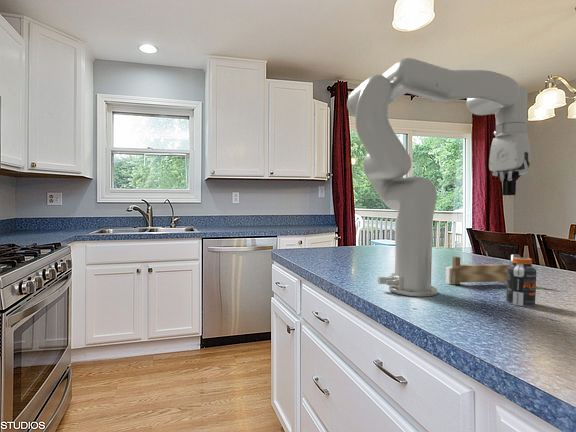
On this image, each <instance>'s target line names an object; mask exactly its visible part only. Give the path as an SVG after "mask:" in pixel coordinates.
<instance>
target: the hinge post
mask: <svg viewBox="0 0 576 432" xmlns="http://www.w3.org/2000/svg"><path fill="white" fill-rule="evenodd" d="M513 257H521V255H520V254H516V253H515V254H514V253H513V254H510V263H509V265H512V264H513V263H512V258H513ZM500 283H501V284H504V285H507V282H500Z"/></svg>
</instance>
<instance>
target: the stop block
mask: <svg viewBox="0 0 576 432" xmlns="http://www.w3.org/2000/svg"><path fill="white" fill-rule="evenodd" d="M444 283H445V284H448V285H454V284H453V283H452V266H445V282H444Z"/></svg>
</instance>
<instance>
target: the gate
mask: <svg viewBox="0 0 576 432" xmlns="http://www.w3.org/2000/svg"><path fill="white" fill-rule="evenodd" d="M509 266H510V264H509V263H508V264H507V263H506V264H503V263H502V264H500V263H499V264H461V257H460V256H452V266H451V267H452V283H453V284H452V285H460V284H461V283H497V282H499V283H501V282H507V269H508V267H509Z"/></svg>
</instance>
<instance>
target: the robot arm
mask: <svg viewBox="0 0 576 432" xmlns="http://www.w3.org/2000/svg"><path fill="white" fill-rule="evenodd" d="M405 94H410V95H413V96H417V97H420V98H424V99H428V100H431V101H434V102H438V103H441V102H442V103H444V102H453V101H458V100H465V99H466V103H465V105H466V108H467V110H468V111H469V112H470V113H471V114H473V115H476V116H487V115H495V130H494V132H493V135H494V136H495V137H494V138H492V141H491V145H490V151H489V159H488V169H489V171H491V175H492V176H494V177H498V178H499V180H500V182H502V185H501V187H502V189H501V192H502V196H516V194H517V193H516V192H517V182H518V181H519V178H521V177H522V175H525V174H526V175H527V174H528V173H529V168H530V166H531V144H530V138H529V134H528V133H527V123H528V120H527V118H528V117H527V116H528V115H527V114H528V111H527V110H528V90H527V88H526V87H525V86H520V85H519V83H518V82H517V81H516V80H515V79H514V78H512V77H511V76H508V75H505V74H502V73H499V72H496V71H491V70H486V69H484V70H483V69H455V70H453V69H449V68H446V67H442V66H439V65H435V64H432V63H429V62H427V61H426V62H425V61H423V60H419V59H416V58H412V57H405V58H402V59H400V60H398V61H396V63H394V64H393V65H392V66H391V67H390V68H388V69H387V70H385V71H384V72H383V73H382V74H375V75H372V76H369V77H368V78H367V79H365V80H364V81H363V82H362V83H360V84H359V86H357V87H356V88H355V89H353V90H352V91H351V93H350V94H349V95H348V96H347V97H348V98H347V102H346V107H347V111H348V112H349V114H350V116H352V117H354V118H355V128H356V133H357V136H358V138H359V140H360V142H361V144H362V145H363V147H364V149H365V151H366V152H367V154H366V156H365V157H364V160H363V172H364V175H365V176H366V179H367V180H368V181H369V183H370V185H371V186H372V187H373V189H374V191H375V192H376V194H377V195H378V196H379V198H380V200H382V202H383V204H384V205H385V206H387V208H389V209H390V210H393V211H396V212H398V213H397V218H396V222H395V242H394V243H395V247H394V251H395V252H394V253H395V254H394V272H391V275H389V276H386V277H385V276H378V277H377V283H378V285H386V286H388V290H389V291H390V292H391V293H394V294H398V295H402V296H407V297H408V296H409V297H421V298H422V297H423V298H424V297H432V296H436V295H437V294H438V288H437V287H435V286H432V266H433V265H432V262H433V259H432V257H433V256H432V255H433V224H434V221H433V220H434V214H435V209H436V204H437V198H438V196H437V195H438V193H437V188H436V186H435V185H434V183H433V181H431V180H430V179H429V178H426V177H423V176H418V175H417V176H409V177H405V176H406V175H407V174H408V173H409V172H410V170H411V168H412V158H411V156H410V154H409V152H408V151H407V149H406V148H405V146H404V145H403V143H402V141H401V140H400V139H399V137H398V136H397V133H396V132H395V131H394V129H393V127H392V126H391V123H390V121H389V116H388V114H389V113H388V110H389V105H390V104H391V103H393V102H394V101H395V100H397V99H400V98H401V97H402V96H404V95H405Z"/></svg>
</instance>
